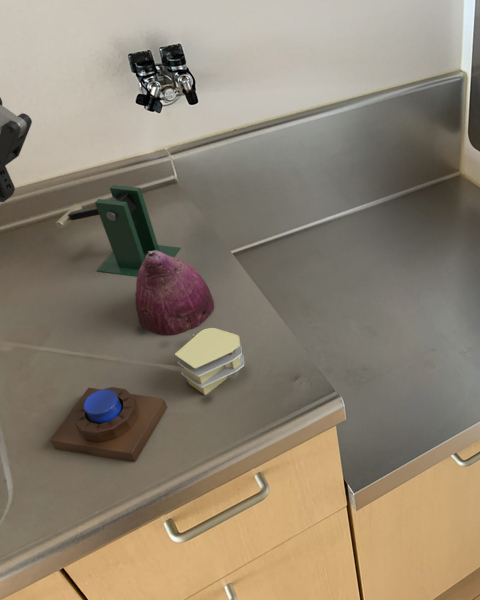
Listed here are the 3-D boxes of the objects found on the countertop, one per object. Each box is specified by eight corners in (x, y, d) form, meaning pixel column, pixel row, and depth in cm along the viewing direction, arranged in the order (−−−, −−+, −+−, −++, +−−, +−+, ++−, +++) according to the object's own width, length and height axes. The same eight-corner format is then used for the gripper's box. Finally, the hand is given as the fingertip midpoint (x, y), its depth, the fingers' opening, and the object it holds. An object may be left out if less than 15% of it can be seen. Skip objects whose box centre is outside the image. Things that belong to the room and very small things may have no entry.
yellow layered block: (209, 417, 74) (200, 387, 71) (163, 383, 78) (152, 353, 75) (269, 369, 80) (264, 339, 77) (224, 339, 84) (216, 310, 81)
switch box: (55, 448, 71) (43, 430, 68) (92, 396, 77) (83, 377, 74) (135, 462, 69) (126, 443, 67) (167, 407, 75) (160, 389, 73)
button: (82, 421, 70) (77, 411, 69) (99, 397, 73) (94, 387, 71) (111, 425, 69) (106, 416, 68) (127, 401, 72) (123, 391, 71)
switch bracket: (98, 276, 94) (70, 206, 86) (125, 246, 100) (100, 177, 92) (159, 284, 93) (136, 213, 85) (182, 253, 99) (163, 184, 91)
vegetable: (205, 354, 87) (188, 296, 74) (132, 344, 86) (102, 283, 74) (224, 294, 92) (212, 230, 80) (156, 284, 92) (132, 218, 80)
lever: (61, 232, 92) (51, 219, 90) (79, 214, 96) (70, 201, 94) (125, 220, 88) (115, 206, 87) (141, 201, 92) (133, 188, 90)
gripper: (18, 18, 55) (80, 187, 66) (-112, 5, 56) (-30, 172, 68) (-42, 46, 49) (37, 225, 61) (-185, 31, 51) (-82, 209, 62)
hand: (1, 197), depth 64 cm, fingers closed
